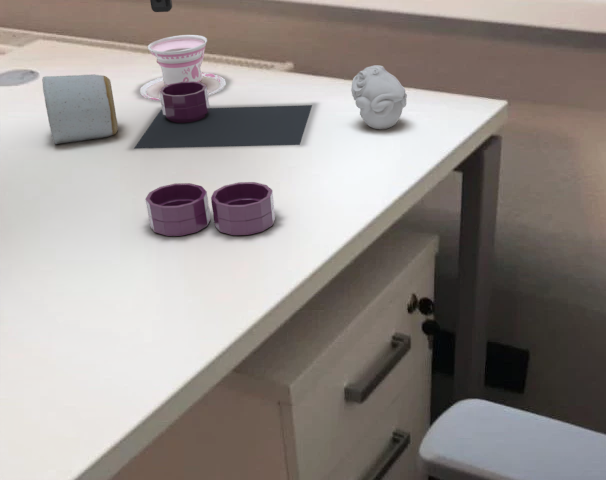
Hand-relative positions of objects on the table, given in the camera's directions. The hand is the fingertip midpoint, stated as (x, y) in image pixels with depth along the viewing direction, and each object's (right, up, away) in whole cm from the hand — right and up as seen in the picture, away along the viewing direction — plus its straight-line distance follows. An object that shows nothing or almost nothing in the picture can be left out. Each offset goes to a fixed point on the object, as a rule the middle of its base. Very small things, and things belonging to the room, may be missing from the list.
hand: (170, 2), depth 100 cm
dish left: (0, -8, +13) cm, 15 cm away
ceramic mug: (-12, -11, +11) cm, 20 cm away
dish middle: (+3, -29, -12) cm, 31 cm away
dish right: (+9, -29, -13) cm, 33 cm away
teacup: (-2, -1, +23) cm, 23 cm away
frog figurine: (+24, -12, +6) cm, 28 cm away
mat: (+6, -11, +9) cm, 15 cm away
